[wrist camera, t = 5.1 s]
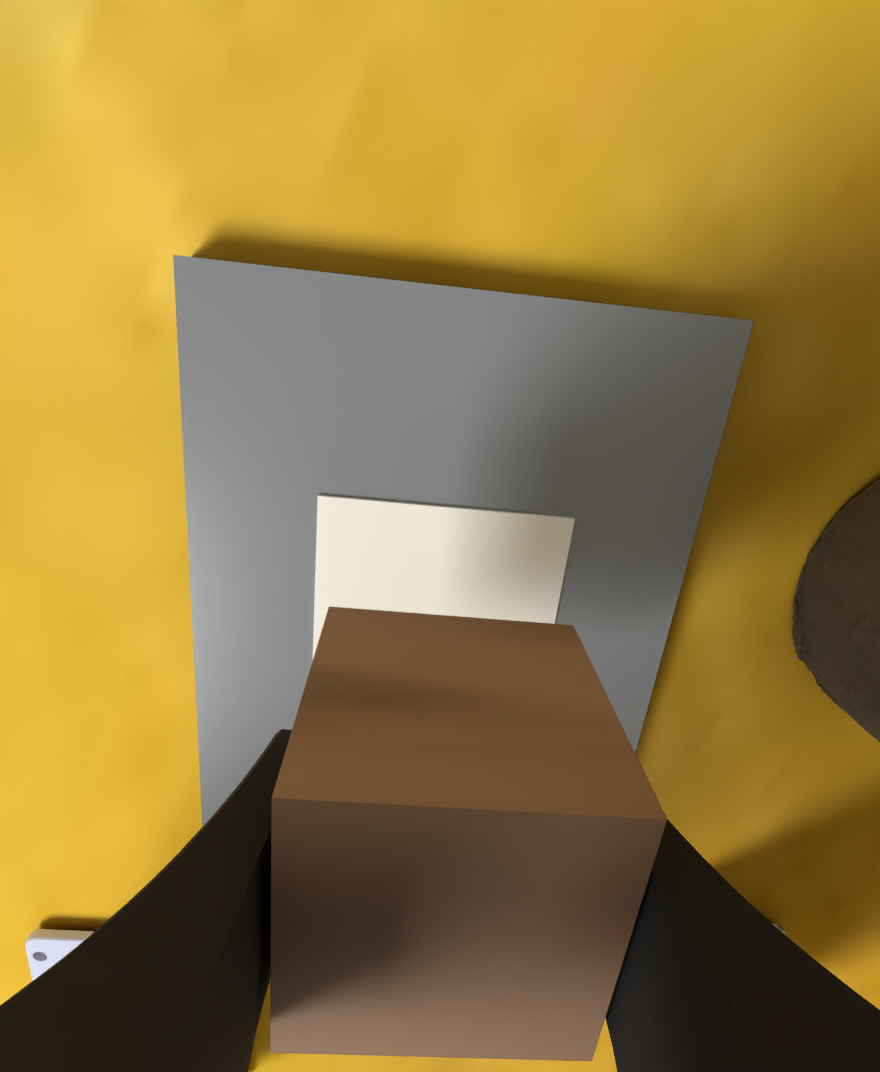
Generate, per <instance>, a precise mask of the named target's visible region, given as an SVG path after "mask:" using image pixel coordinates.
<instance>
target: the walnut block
mask: <svg viewBox="0 0 880 1072" xmlns="http://www.w3.org/2000/svg"><path fill="white" fill-rule="evenodd" d="M666 822H667V818H666V816H665V814H664V812H663V810H662V808H661V806H660V804H659V802H658V799H657V797H656V795H655V793H654V791H653V789H652V787H651V785H650V783H649V781H648V779H647V777H646V775H645V773H644V770H643V768H642V766H641V764H640V762H639V760H638V758H637V756H636V754H635V752H634V750H633V748H632V746H631V744H630V742H629V739H628V737H627V735H626V733H625V731H624V729H623V727H622V725H621V723H620V721H619V719H618V717H617V715H616V713H615V710H614V708H613V706H612V704H611V702H610V700H609V698H608V696H607V694H606V692H605V690H604V688H603V686H602V684H601V681H600V679H599V677H598V675H597V673H596V671H595V669H594V667H593V665H592V663H591V661H590V659H589V657H588V655H587V653H586V650H585V648H584V646H583V644H582V642H581V640H580V638H579V636H578V634H577V632H576V630H575V628H574V626H573V625H565V624H552V623H539V622H526V621H513V620H500V619H487V618H474V617H461V616H448V615H435V614H422V613H408V612H395V611H382V610H369V609H356V608H343V607H330V606H329V608H328V611H327V615H326V618H325V621H324V625H323V628H322V631H321V635H320V638H319V641H318V645H317V648H316V651H315V655H314V658H313V661H312V665H311V668H310V671H309V675H308V678H307V681H306V685H305V688H304V691H303V695H302V698H301V701H300V705H299V708H298V711H297V715H296V718H295V721H294V725H293V728H292V731H291V735H290V738H289V741H288V745H287V748H286V751H285V755H284V758H283V761H282V765H281V768H280V771H279V775H278V778H277V781H276V785H275V788H274V791H273V795H272V812H271V1009H270V1053H301V1054H339V1055H377V1056H415V1057H453V1058H491V1059H528V1060H566V1061H592V1059H593V1055H594V1052H595V1049H596V1046H597V1043H598V1039H599V1036H600V1033H601V1030H602V1027H603V1023H604V1020H605V1017H606V1014H607V1011H608V1007H609V1004H610V1001H611V998H612V995H613V991H614V988H615V985H616V982H617V979H618V975H619V972H620V969H621V966H622V963H623V959H624V956H625V953H626V950H627V947H628V943H629V940H630V937H631V934H632V931H633V927H634V924H635V921H636V918H637V915H638V911H639V908H640V905H641V902H642V899H643V895H644V892H645V889H646V886H647V883H648V879H649V876H650V873H651V870H652V867H653V863H654V860H655V857H656V854H657V851H658V847H659V844H660V841H661V838H662V835H663V831H664V828H665V825H666Z"/></svg>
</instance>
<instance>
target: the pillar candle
mask: <svg viewBox="0 0 880 1072" xmlns="http://www.w3.org/2000/svg"><path fill="white" fill-rule="evenodd" d="M793 607H794V611H793V617H792V618H793V621H794V622H793V639H794V645H795V647H796V649H795V651H796V653H797V655H798V658H799V659H800V660H802V661H804V662H805V664H806V666H807V667H808V669H809V670H810V671H811V672H812V673H813V675H814V676H815V678H816V682H817V684H818V686H820V688H821V689H822V690H823V692H824V693H826V694H827V695H828V696H829V697H830V698H831V699H832V700H833V702H834V703H836V704H837V705H838V706H839V707H840V708H841V709H843V710H844V711H845V712H846V713H847V714H848V715H850V716H851V717H852V718H853V719H854V720H855V721H856V722H857V723H858V724H859V725H860V726H862V727H863V728H864V729H865V730H866V731H867V732H868V733H869V734H871V735H872V736H873V737H874V738H875V739H877V740H878V741H879V742H880V479H879V480H878V481H876V482H875V483H874V484H872V485H871V486H869V487H868V488H866V489H865V490H863V491H862V492H860V493H859V495H858V496H856V497H855V498H853V499H852V500H851V501H850V502H849V503H848V504H847V505H846V506H845V507H844V508H842V509H841V510H840V511H839V512H838V514H837V515H836V516H835V517H834V519H833V522H831V524H830V525H828V526H827V527H826V528H825V530H824V531H823V532H822V534H821V536H820V537H819V539H818V541H817V543H816V544H815V546H814V548H813V550H812V551H811V552H810V553H809V555H808V556H807V564H806V565H805V566H804V567H803V572H802V573H801V575H800V578H799V581H798V584H797V589H796V593H795V597H794V601H793Z"/></svg>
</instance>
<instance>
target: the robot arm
mask: <svg viewBox="0 0 880 1072" xmlns="http://www.w3.org/2000/svg"><path fill="white" fill-rule="evenodd" d="M291 731H292V730H288V729H281V730H280V731H279V732H277V733H276V734H275V735H274V737H273V738H272V740H271V742H270V743H269V744H268V746H267V747H266V749H265V750H264V752H263V753H262V754H261V756H260V757H259V759H258V760H257V761H256V763H255V764H254V765H253V767H252V768H251V769H250V771H249V772H248V773H247V775H246V776H245V777H244V778H243V780H242V781H241V782H240V784H239V785H238V786H237V787H236V788H235V790H234V791H233V792H232V793H231V794H230V796H229V797H228V798H227V799H226V801H225V802H224V803H223V804H222V805H221V807H220V808H219V809H218V810H217V811H216V813H215V814H214V815H213V816H212V817H211V818H210V819H209V821H208V822H207V823H206V824H205V825H204V826H203V827H202V828H201V829H200V830H199V831H198V833H197V834H196V835H195V836H194V837H193V838H192V839H191V840H190V841H189V842H188V843H187V845H186V846H185V847H184V848H183V849H182V850H181V851H180V852H179V853H178V854H177V855H176V856H175V857H174V858H173V859H172V860H171V861H170V862H169V863H168V864H167V865H166V866H165V867H164V868H163V869H162V870H161V871H160V872H159V873H158V874H157V875H156V876H155V877H154V878H153V879H152V880H151V881H150V882H149V883H148V884H147V885H146V886H145V887H144V888H143V889H142V890H141V891H140V892H139V893H137V894H136V895H135V896H134V897H133V898H132V899H131V900H130V901H129V902H128V903H127V904H126V905H124V906H123V907H122V908H121V909H120V910H119V911H118V912H116V913H115V914H114V915H113V916H112V917H111V918H110V919H108V920H107V921H106V922H105V923H104V924H103V925H102V926H100V927H99V928H98V929H97V930H96V931H78V930H55V929H38V930H35V931H33V932H32V933H31V934H30V936H29V937H28V939H27V940H26V942H25V948H26V952H27V957H28V962H29V967H30V971H31V976H32V982H31V983H29V984H28V985H27V986H25V987H24V988H23V989H22V990H20V991H19V992H18V993H16V994H15V995H14V996H12V997H11V998H10V999H8V1000H7V1001H6V1002H4V1003H3V1004H2V1005H0V1072H248V1068H249V1063H250V1058H251V1053H252V1049H253V1044H254V1039H255V1034H256V1030H257V1026H258V1022H259V1018H260V1014H261V1010H262V1006H263V1002H264V998H265V994H266V991H267V987H268V984H269V981H270V977H271V812H272V795H273V791H274V788H275V785H276V781H277V778H278V775H279V771H280V768H281V765H282V761H283V758H284V755H285V751H286V748H287V745H288V741H289V738H290V735H291ZM606 1021H607V1025H608V1029H609V1033H610V1038H611V1042H612V1046H613V1051H614V1056H615V1061H616V1066H617V1071H618V1072H880V1010H879V1009H878V1008H876V1007H875V1006H874V1005H872V1004H871V1003H870V1002H868V1001H867V1000H865V999H864V998H863V997H861V996H860V995H859V994H857V993H856V992H855V991H854V990H852V989H851V988H850V987H848V986H847V985H846V984H845V983H843V982H842V981H841V980H840V979H838V978H837V977H836V976H835V975H833V974H832V973H831V972H829V971H828V970H827V969H826V968H824V967H823V966H822V965H821V964H819V963H818V962H817V961H816V960H814V959H813V958H812V957H811V956H809V955H808V954H807V953H806V952H805V951H803V950H802V949H801V948H800V947H799V946H797V945H796V944H795V943H794V942H793V941H791V940H790V939H789V938H788V937H787V936H786V935H785V934H783V933H782V932H781V931H780V930H779V929H778V928H777V927H776V926H774V925H773V924H772V923H771V922H770V921H769V920H768V919H767V918H765V917H764V916H763V915H762V914H761V913H760V912H759V911H758V910H756V909H755V908H754V907H753V906H752V905H751V904H750V903H749V902H748V901H747V900H746V899H744V898H743V897H742V896H741V895H740V894H739V893H738V892H737V891H736V890H735V889H734V888H733V887H732V886H731V885H730V884H729V883H728V882H727V881H726V880H725V879H724V878H723V877H722V876H721V875H720V874H719V873H718V872H717V871H716V870H715V869H714V868H713V867H712V866H711V865H710V864H709V863H708V862H707V861H706V860H705V859H704V858H703V857H702V856H701V855H700V854H699V853H698V852H697V851H696V850H695V849H694V848H693V847H692V845H691V844H690V843H689V842H688V841H687V840H686V839H685V838H684V837H683V836H682V835H681V834H680V833H679V831H678V830H677V829H676V828H675V827H674V826H673V825H672V824H671V823H670V821H669V820H668V819H667V822H666V825H665V828H664V831H663V835H662V838H661V841H660V844H659V847H658V851H657V854H656V857H655V860H654V863H653V867H652V870H651V873H650V876H649V879H648V883H647V886H646V889H645V892H644V895H643V899H642V902H641V905H640V908H639V911H638V915H637V918H636V921H635V924H634V927H633V931H632V934H631V937H630V940H629V943H628V947H627V950H626V953H625V956H624V959H623V963H622V966H621V969H620V972H619V975H618V979H617V982H616V985H615V988H614V991H613V995H612V998H611V1001H610V1004H609V1007H608V1011H607V1014H606Z"/></svg>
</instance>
